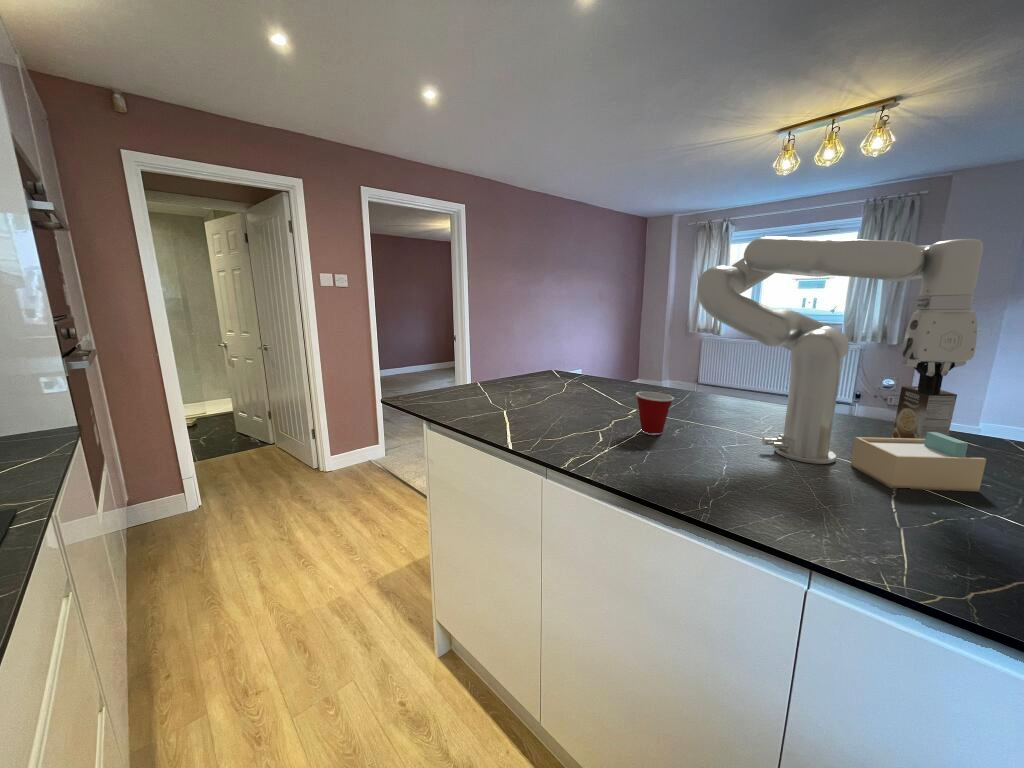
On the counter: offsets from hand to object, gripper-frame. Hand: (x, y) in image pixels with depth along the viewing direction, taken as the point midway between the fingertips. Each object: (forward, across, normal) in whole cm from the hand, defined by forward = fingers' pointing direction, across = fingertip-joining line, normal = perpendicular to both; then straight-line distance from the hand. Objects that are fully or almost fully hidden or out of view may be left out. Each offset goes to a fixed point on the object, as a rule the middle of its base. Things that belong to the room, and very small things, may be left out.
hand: (928, 393), depth 84 cm
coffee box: (+19, +15, +18) cm, 30 cm away
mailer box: (+19, 0, 0) cm, 19 cm away
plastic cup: (+19, -49, +27) cm, 59 cm away
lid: (+13, 0, 0) cm, 13 cm away
